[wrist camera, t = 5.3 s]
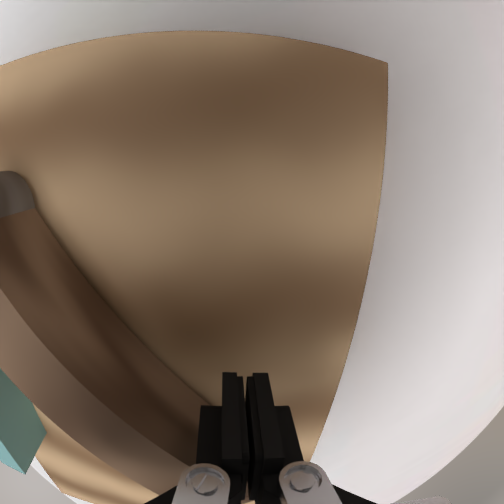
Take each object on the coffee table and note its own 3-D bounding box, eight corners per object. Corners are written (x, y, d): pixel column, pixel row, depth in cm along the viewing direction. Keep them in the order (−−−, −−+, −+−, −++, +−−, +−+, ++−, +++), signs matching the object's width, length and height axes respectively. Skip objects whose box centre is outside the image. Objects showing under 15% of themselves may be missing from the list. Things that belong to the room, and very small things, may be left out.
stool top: (-18, 84, 8) (-34, 80, 7) (371, 72, 10) (387, 63, 9) (66, 481, 17) (61, 492, 15) (278, 510, 18) (280, 522, 17)
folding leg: (-26, 210, 9) (-85, 228, 5) (10, 152, 8) (-59, 155, 4) (199, 455, 13) (196, 515, 9) (253, 432, 13) (260, 498, 9)
